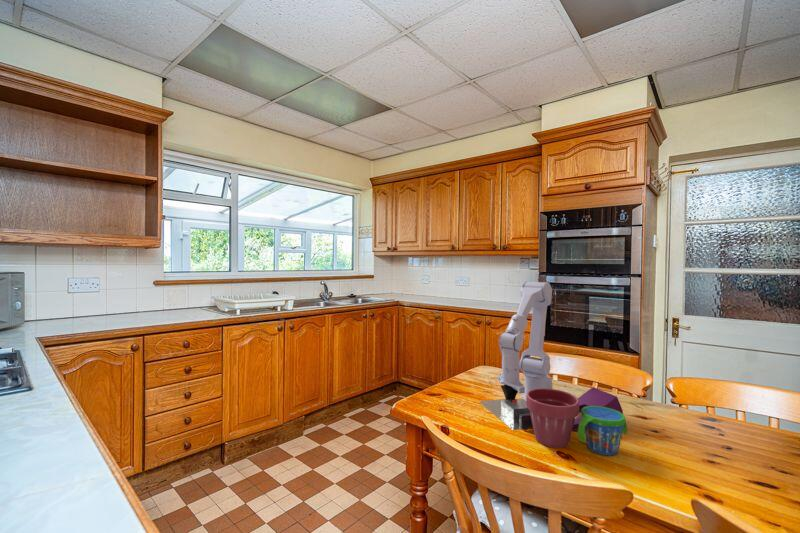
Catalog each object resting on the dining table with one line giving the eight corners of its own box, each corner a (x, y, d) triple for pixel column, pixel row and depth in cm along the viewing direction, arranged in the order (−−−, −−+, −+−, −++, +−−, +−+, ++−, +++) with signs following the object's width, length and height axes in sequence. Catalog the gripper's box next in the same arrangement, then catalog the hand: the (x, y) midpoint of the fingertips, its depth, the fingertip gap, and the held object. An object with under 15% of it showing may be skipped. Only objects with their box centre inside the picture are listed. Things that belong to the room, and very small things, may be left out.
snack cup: (611, 437, 108) (611, 402, 108) (642, 455, 97) (642, 417, 97) (565, 443, 104) (564, 408, 104) (592, 463, 94) (592, 423, 94)
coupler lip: (512, 398, 139) (512, 387, 139) (553, 426, 115) (552, 412, 115) (478, 402, 136) (478, 390, 136) (512, 431, 112) (512, 417, 112)
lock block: (521, 410, 127) (521, 396, 127) (535, 419, 119) (535, 405, 119) (501, 412, 125) (501, 398, 125) (513, 422, 118) (513, 407, 118)
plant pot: (589, 452, 99) (589, 405, 99) (537, 453, 99) (537, 406, 99) (564, 428, 113) (564, 387, 113) (519, 429, 113) (519, 388, 113)
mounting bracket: (584, 452, 111) (626, 419, 116) (574, 428, 110) (617, 396, 114) (562, 438, 120) (601, 408, 125) (552, 416, 119) (593, 387, 124)
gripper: (490, 362, 133) (490, 399, 133) (510, 375, 119) (510, 416, 119) (508, 361, 134) (508, 398, 135) (530, 373, 120) (530, 414, 120)
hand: (510, 406), depth 127 cm, fingers closed, pressing on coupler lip
